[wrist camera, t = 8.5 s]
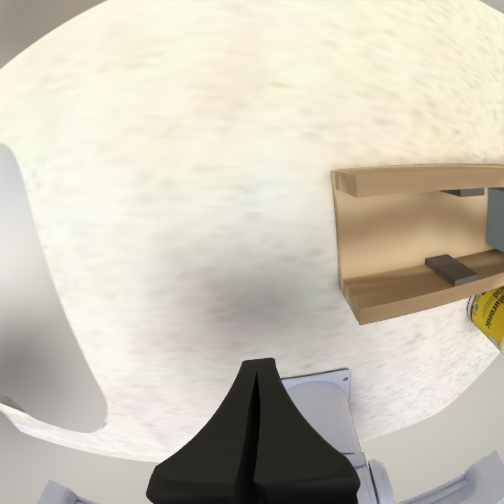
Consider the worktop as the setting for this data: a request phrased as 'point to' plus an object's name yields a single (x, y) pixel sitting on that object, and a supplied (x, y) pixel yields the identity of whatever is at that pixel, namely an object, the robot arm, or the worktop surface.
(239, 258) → the worktop surface
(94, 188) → the worktop surface
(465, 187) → the chute
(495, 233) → the block
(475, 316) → the supplement bottle
